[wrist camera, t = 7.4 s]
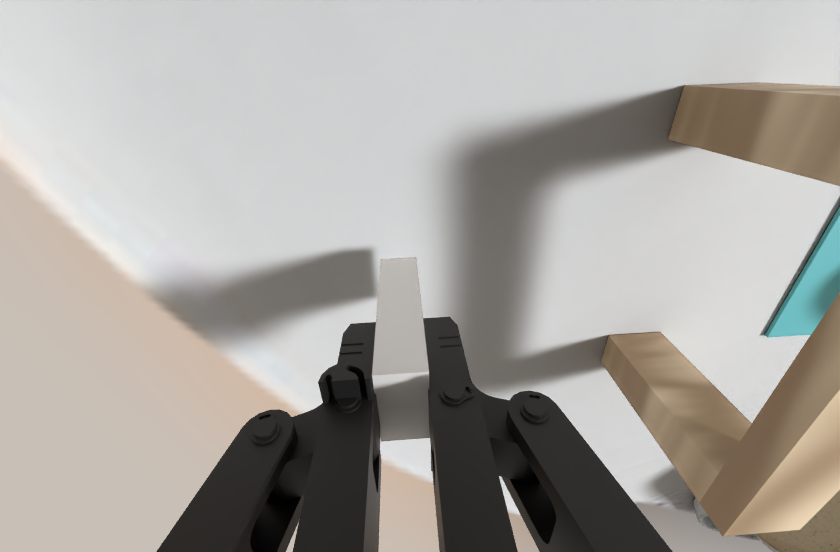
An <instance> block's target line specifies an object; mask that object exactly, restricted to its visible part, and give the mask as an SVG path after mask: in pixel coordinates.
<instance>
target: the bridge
mask: <svg viewBox="0 0 840 552" xmlns="http://www.w3.org/2000/svg"><path fill="white" fill-rule="evenodd" d="M668 140H671V141H675V142H679V143H682V144H686V145H690V146H694V147H697V148H701V149H705V150H708V151H712V152H716V153H720V154H723V155H727V156H731V157H734V158H738V159H742V160H745V161H749V162H753V163H757V164H760V165H764V166H768V167H771V168H775V169H779V170H783V171H786V172H790V173H794V174H797V175H801V176H805V177H809V178H812V179H816V180H820V181H823V182H827V183H831V184H834V185H838V186H840V86H824V85H802V84H780V83H733V84H708V85H684V88H683V91H682V94H681V97H680V101H679V104H678V107H677V111H676V114H675V117H674V121H673V124H672V127H671V131H670V134H669V137H668ZM601 362H602V364H603V365H604V367H605V368H606V370H607V371H608V373H609V374H610V375H611V377H612V378H613V380H614V381H615V383H616V384H617V385H618V387H619V388H620V390H621V391H622V393H623V394H624V395H625V397H626V398H627V400H628V401H629V403H630V404H631V406H632V407H633V408H634V410H635V411H636V413H637V414H638V416H639V417H640V418H641V420H642V421H643V423H644V424H645V426H646V427H647V429H648V430H649V431H650V433H651V434H652V436H653V437H654V439H655V440H656V441H657V443H658V444H659V446H660V447H661V449H662V450H663V451H664V453H665V454H666V456H667V457H668V459H669V460H670V462H671V463H672V464H673V466H674V467H675V469H676V470H677V472H678V473H679V474H680V476H681V477H682V479H683V480H684V482H685V483H686V485H687V486H688V487H689V489H690V490H691V492H692V493H693V495H694V496H695V497H696V499H697V500H698V502H699V503H700V505H701V506H702V507H703V509H704V510H705V512H706V513H707V515H708V516H709V518H710V519H711V520H712V522H713V523H714V525H715V526H716V528H717V529H718V530H719V532H720V533H721V535H722V536H734V535H745V534H757V533H769V532H780V531H792V530H800V529H801V528H802V527H803V526H804V525H805V524H806V523H807V522H808V521H809V520H810V519H811V518H812V517H813V516H814V515H815V514H816V513H817V512H818V511H819V510H820V509H821V508H822V507H823V506H824V505H825V504H826V503H827V502H828V501H829V500H830V499H831V498H832V497H833V496H834V495H835V494H836V493H837V492H838V491H839V490H840V292H839V294H838V295H837V297H836V298H835V300H834V301H833V303H832V304H831V306H830V307H829V309H828V310H827V312H826V313H825V315H824V316H823V318H822V319H821V321H820V322H819V324H818V325H817V327H816V328H815V330H814V331H813V333H812V334H811V336H810V337H809V339H808V340H807V342H806V343H805V345H804V346H803V348H802V349H801V351H800V352H799V354H798V355H797V357H796V358H795V360H794V361H793V363H792V364H791V366H790V367H789V369H788V370H787V372H786V373H785V375H784V376H783V378H782V379H781V381H780V382H779V384H778V385H777V387H776V388H775V390H774V391H773V393H772V394H771V396H770V397H769V399H768V400H767V402H766V403H765V405H764V406H763V408H762V409H761V411H760V412H759V414H758V415H757V417H756V418H755V420H754V421H753V423H751V422H750V421H749V420H748V419H747V418H746V417H745V416H744V415H743V414H742V413H741V412H740V411H739V410H738V409H737V408H736V407H735V406H734V405H733V404H732V403H731V402H730V401H729V400H728V399H727V398H726V397H725V396H724V395H723V394H722V393H721V392H720V391H719V390H718V389H717V388H716V387H715V386H714V385H713V384H712V383H711V382H710V381H709V380H708V379H707V378H706V377H705V376H704V375H703V374H702V373H701V372H700V371H699V370H698V369H697V368H696V367H695V366H694V365H693V364H692V363H691V362H690V361H689V360H688V359H687V358H686V357H685V356H684V355H683V354H682V353H681V352H680V351H679V350H678V349H677V348H676V347H675V346H674V345H673V344H672V343H671V342H670V341H669V340H668V339H667V338H666V337H665V336H664V335H663V334H662V333H661V332H653V333H638V334H622V335H609V336H608V340H607V343H606V346H605V350H604V353H603V356H602V360H601Z"/></svg>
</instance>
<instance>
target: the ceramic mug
mask: <svg viewBox="0 0 840 552" xmlns="http://www.w3.org/2000/svg"><path fill="white" fill-rule="evenodd" d="M693 504H694V507H695V511H696V516H697V519H698V521H699V522H700V523H701V524H702V525H703V526H705V527H707V528H710V529H712V530H715V531H718V532H719V530H718V529H717V528H716V526H715V525H714V523H713V522H712V520H711V519H710V518H709V516H708V515H707V513H706V512H705V510H704V509H703V507H702V506H701V505H700V503H699V502H698V500H697V499H696V498H695V500H694V502H693ZM734 536H738V537H743V538H748V539H753V540H761V541H762V542H763V543H764V544H765V545H766V546H767V547H768V548H769V549H770V550H772V551H773V552H840V490H839V491H838V492H837V493H836V494H835V495H834V496H833V497H832V498H831V499H830V500H829V501H828V502H827V503H826V504H825V505H824V506H823V507H822V508H821V509H820V510H819V511H818V512H817V513H816V514H815V515H814V516H813V517H812V518H811V519H810V520H809V521H808V522H807V523H806V524H805V525H804V526H803V527H802V528H801V529H800V530H792V531H780V532H769V533H757V534H745V535H734Z"/></svg>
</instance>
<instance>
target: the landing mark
mask: <svg viewBox="0 0 840 552" xmlns="http://www.w3.org/2000/svg"><path fill="white" fill-rule="evenodd" d="M839 292H840V207H839V208H838V210H837V212H836V213H835V215H834V217H833V219H832V220H831V222H830V224H829V226H828V227H827V229H826V231H825V232H824V234H823V236H822V238H821V239H820V241H819V243H818V244H817V246H816V248H815V250H814V251H813V253H812V255H811V256H810V258H809V260H808V262H807V263H806V265H805V267H804V268H803V270H802V272H801V274H800V275H799V277H798V279H797V280H796V282H795V284H794V286H793V287H792V289H791V291H790V292H789V294H788V296H787V298H786V299H785V301H784V303H783V304H782V306H781V308H780V310H779V311H778V313H777V315H776V316H775V318H774V320H773V322H772V323H771V325H770V327H769V328H768V330H767V332H766V334H765V336H767V337H780V336H796V335H811V334H812V333H813V331H814V330H815V328H816V327H817V325H818V324H819V322H820V321H821V319H822V318H823V316H824V315H825V313H826V312H827V310H828V309H829V307H830V306H831V304H832V303H833V301H834V300H835V298H836V297H837V295H838V294H839Z"/></svg>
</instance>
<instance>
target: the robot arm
mask: <svg viewBox="0 0 840 552" xmlns="http://www.w3.org/2000/svg"><path fill="white" fill-rule="evenodd" d="M318 383H319V387H320V392H321V396H322V400H323V403H322V404H321V405H320V406H318V407H317V408H315V409H313V410H311V411H308V412H306V413H303V414H300V415H297V416H294V417H291V416H290V415H289V414H288V413H287V412H284V411H282V410H269V411H265V412H262V413H259V414H258V415H256V416H255V417H253V418H251V419H250V420H249V421H248V422H247V423H246V424H245V425H244V426H243V427H242V429H241V430H240V432H239V433H238V435H237V436H236V437H235V439H234V440H233V442H232V443H231V445H230V446H229V448H228V449H227V450H226V452H225V454H224V455H223V456H222V458H221V459H220V461H219V462H218V464H217V465H216V467H215V468H214V469H213V471H212V472H211V474H210V475H209V477H208V478H207V480H206V481H205V482H204V484H203V485H202V487H201V488H200V490H199V491H198V492H197V494H196V495H195V497H194V498H193V500H192V501H191V503H190V504H189V505H188V507H187V508H186V510H185V511H184V513H183V514H182V516H181V517H180V518H179V520H178V521H177V523H176V524H175V526H174V527H173V529H172V530H171V531H170V533H169V535H168V536H167V537H166V539H165V540H164V542H163V543H162V544H161V546H160V548H159V549H158V550H157V552H286V550H287V547H288V545H289V543H290V540H291V538H292V536H293V533H294V531H295V528H296V526H297V524H298V522H299V525H298V529H297V534H296V539H295V544H294V548H293V552H378V545H379V512H380V482H381V481H380V480H381V454H380V438H381V441H391V440H405V439H418V438H430V441H431V471H433V482H434V494H435V505H436V516H437V526H438V537H439V549H440V552H518V551H517V548H516V543H515V539H514V535H513V531H512V527H511V523H510V519H509V515H508V511H507V507H506V503H505V499H504V495H503V491H502V487H501V483H500V479H499V476H501V477H502V479H503V481H504V483H505V485H506V487H507V489H508V491H509V493H510V494H511V496H512V498H513V500H514V502H515V504H516V506H517V508H518V510H519V512H520V514H521V516H522V518H523V520H524V522H525V524H526V526H527V528H528V530H529V531H530V534H531V536H532V537H533V539H534V541H535V543H536V545H537V547H538V549H539V551H540V552H672V550H671V549H670V548H669V547H668V545H667V544H666V543H665V542H664V540H663V539H662V538H661V537H660V535H659V534H658V533H657V531H656V530H655V529H654V528H653V526H652V525H651V524H650V522H649V521H648V520H647V519H646V517H645V516H644V515H643V514H642V513H641V511H640V510H639V509H638V507H637V506H636V505H635V503H634V502H633V501H632V500H631V498H630V497H629V496H628V495H627V493H626V492H625V491H624V489H623V488H622V487H621V486H620V484H619V483H618V482H617V481H616V479H615V478H614V477H613V475H612V474H611V473H610V472H609V470H608V469H607V468H606V467H605V465H604V464H603V463H602V461H601V460H600V459H599V458H598V456H597V455H596V454H595V453H594V451H593V450H592V449H591V448H590V446H589V445H588V444H587V442H586V441H585V440H584V439H583V437H582V436H581V435H580V434H579V432H578V431H577V430H576V428H575V427H574V426H573V425H572V423H571V422H570V421H569V420H568V418H567V417H566V416H565V414H564V413H563V412H562V411H561V409H560V408H559V407H558V406H557V404H556V403H555V402H553V401H552V400H551V399H550V398H549V397H547V396H545V395H543V394H541V393H538V392H533V391H523V392H519V393H517V394H515V395H513V397H512V398H511V399H510V401H509V400H504V399H499V398H495V397H491V396H488V395H486V394H484V393H482V392H481V391H479V390H478V389H477V388H476V387H475V386H474V384H473V383H472V381H471V379H470V375H469V371H468V367H467V363H466V359H465V355H464V350H463V346H462V342H461V338H460V334H459V330H458V326H457V324H456V323H455V322H454V321H453V320H452V319H451V318H450V317H440V318H423V313H422V304H421V295H420V286H419V277H418V268H417V259H416V257H414V258H396V259H381V261H380V274H379V288H378V301H377V315H376V322H373V323H357V324H350V326H349V327H348V328H347V329H346V331H345V332H344V333H343V337H342V343H341V348H340V355H339V358H338V363H337V364H336V365H334V366H332V367H330V368H328V369H327V370H326V371H325V372H324V373H323V374H322V375H321V377H320V379H319V381H318ZM299 519H300V520H299Z"/></svg>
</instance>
